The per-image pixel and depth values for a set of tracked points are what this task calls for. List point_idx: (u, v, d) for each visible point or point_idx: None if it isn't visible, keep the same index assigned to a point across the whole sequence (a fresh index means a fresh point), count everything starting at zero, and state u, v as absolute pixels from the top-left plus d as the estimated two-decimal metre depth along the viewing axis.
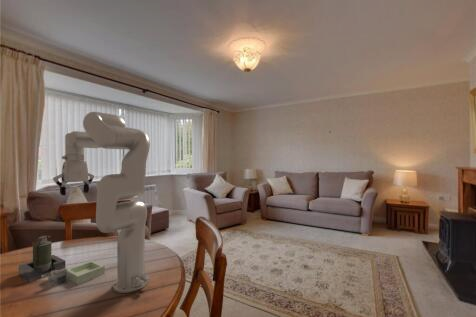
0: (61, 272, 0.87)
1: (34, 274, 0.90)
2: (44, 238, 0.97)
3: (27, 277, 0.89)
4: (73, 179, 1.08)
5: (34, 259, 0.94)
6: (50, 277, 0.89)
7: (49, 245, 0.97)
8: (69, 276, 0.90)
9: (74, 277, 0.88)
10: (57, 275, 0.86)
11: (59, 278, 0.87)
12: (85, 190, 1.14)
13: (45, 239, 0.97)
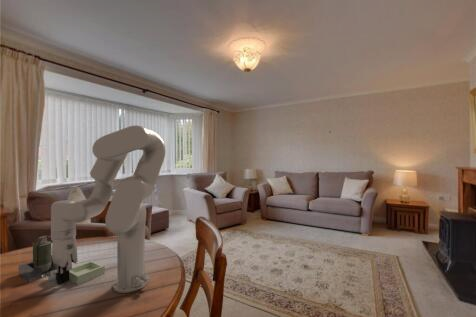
0: None
1: (34, 274, 0.90)
2: (44, 238, 0.97)
3: (27, 277, 0.89)
4: None
5: (34, 259, 0.94)
6: (50, 276, 0.89)
7: (49, 245, 0.97)
8: (69, 276, 0.90)
9: (74, 277, 0.88)
10: (57, 275, 0.86)
11: None
12: None
13: (45, 239, 0.97)
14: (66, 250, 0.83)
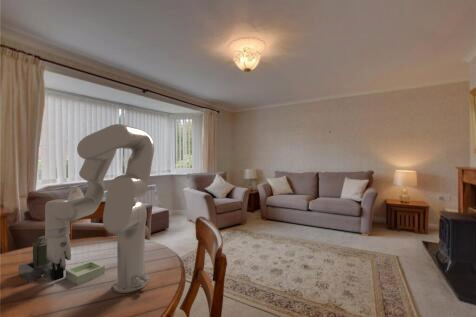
0: None
1: (34, 274, 0.90)
2: (44, 238, 0.97)
3: (27, 277, 0.89)
4: None
5: (34, 259, 0.94)
6: (45, 273, 0.92)
7: None
8: (69, 276, 0.90)
9: (74, 277, 0.88)
10: (51, 271, 0.89)
11: None
12: None
13: (45, 239, 0.97)
14: (60, 247, 0.85)
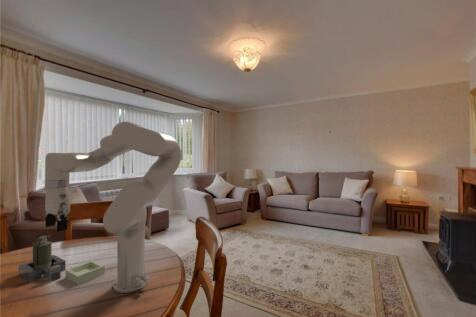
0: (55, 268, 0.90)
1: (34, 274, 0.90)
2: (44, 238, 0.97)
3: (27, 277, 0.89)
4: None
5: (34, 259, 0.94)
6: (45, 273, 0.92)
7: (49, 245, 0.97)
8: (69, 276, 0.90)
9: (74, 277, 0.88)
10: (51, 271, 0.89)
11: (53, 274, 0.90)
12: (52, 223, 0.92)
13: (45, 239, 0.97)
14: (59, 198, 0.86)
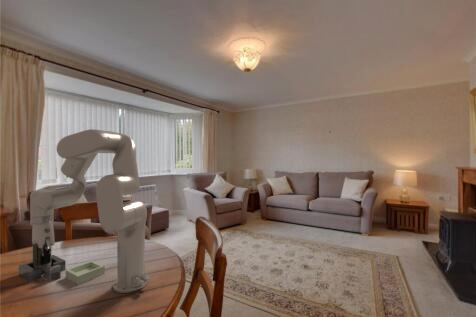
0: (55, 268, 0.90)
1: (34, 274, 0.90)
2: None
3: (27, 277, 0.89)
4: None
5: (34, 259, 0.94)
6: (45, 273, 0.92)
7: None
8: (69, 276, 0.90)
9: (74, 277, 0.88)
10: (51, 271, 0.89)
11: (53, 274, 0.90)
12: None
13: None
14: (43, 233, 0.93)
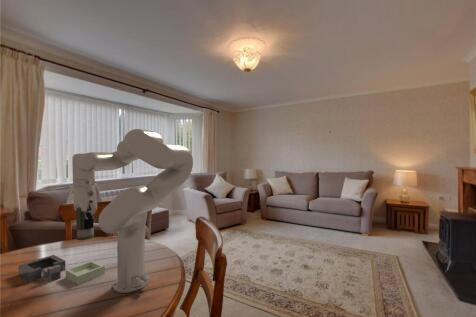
0: (55, 268, 0.90)
1: (34, 274, 0.90)
2: None
3: (27, 277, 0.89)
4: None
5: (77, 223, 0.91)
6: (45, 273, 0.92)
7: None
8: (69, 276, 0.90)
9: (74, 277, 0.88)
10: (51, 271, 0.89)
11: (53, 274, 0.90)
12: None
13: None
14: (87, 196, 0.90)
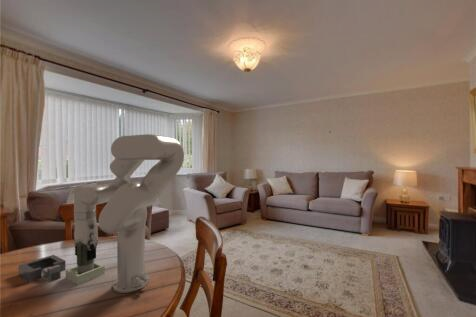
0: (55, 268, 0.90)
1: (34, 274, 0.90)
2: None
3: (27, 277, 0.89)
4: None
5: (78, 259, 0.90)
6: (45, 273, 0.92)
7: None
8: (69, 276, 0.90)
9: (74, 277, 0.88)
10: (51, 271, 0.89)
11: (53, 274, 0.90)
12: None
13: None
14: (88, 229, 0.90)
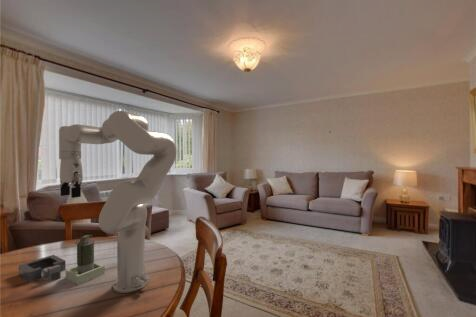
0: (55, 268, 0.90)
1: (34, 274, 0.90)
2: (87, 237, 0.93)
3: (27, 277, 0.89)
4: None
5: (78, 259, 0.90)
6: (45, 273, 0.92)
7: (92, 245, 0.94)
8: (69, 276, 0.90)
9: (74, 277, 0.88)
10: (51, 271, 0.89)
11: (53, 274, 0.90)
12: (66, 192, 0.99)
13: (88, 238, 0.94)
14: (73, 167, 0.93)
